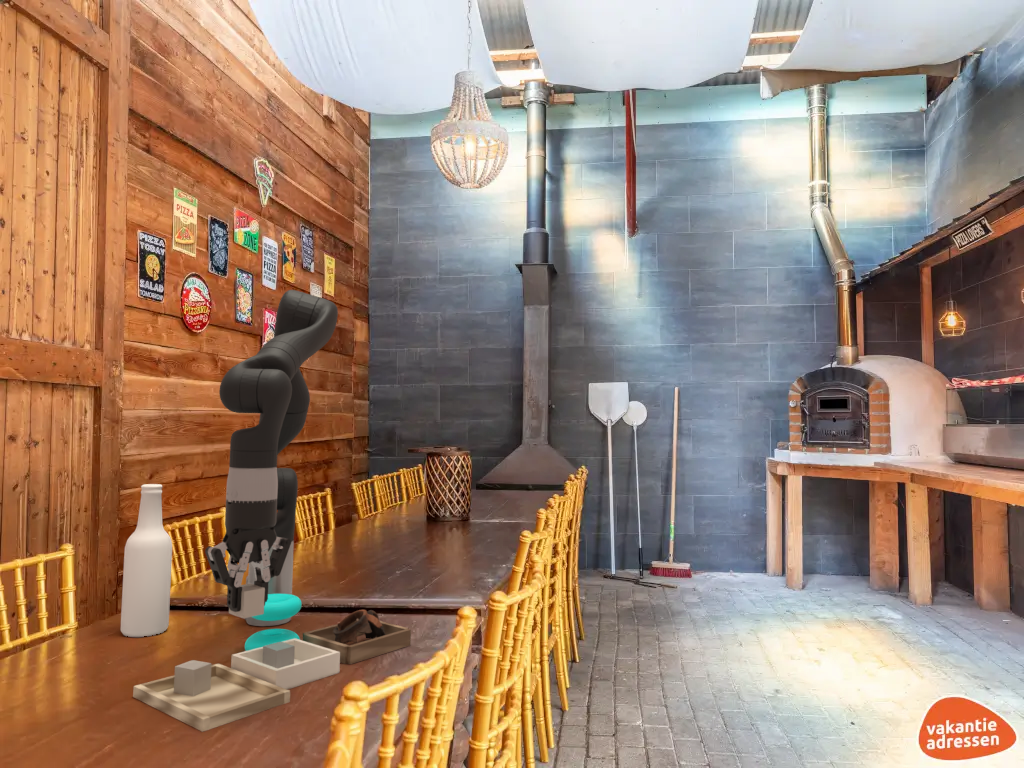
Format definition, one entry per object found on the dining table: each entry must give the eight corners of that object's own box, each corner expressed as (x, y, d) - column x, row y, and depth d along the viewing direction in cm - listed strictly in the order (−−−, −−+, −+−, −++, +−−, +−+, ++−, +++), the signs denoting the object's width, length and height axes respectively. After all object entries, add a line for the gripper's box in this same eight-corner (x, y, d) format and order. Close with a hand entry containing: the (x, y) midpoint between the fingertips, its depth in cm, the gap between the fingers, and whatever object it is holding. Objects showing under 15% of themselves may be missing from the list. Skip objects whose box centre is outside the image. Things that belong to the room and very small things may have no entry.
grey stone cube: (173, 692, 111) (174, 666, 112) (191, 685, 115) (192, 659, 115) (193, 696, 110) (194, 669, 110) (210, 689, 113) (211, 663, 113)
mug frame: (300, 649, 136) (300, 633, 136) (364, 631, 149) (364, 617, 149) (348, 665, 128) (348, 647, 128) (412, 644, 140) (412, 629, 141)
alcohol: (126, 640, 140) (134, 486, 142) (115, 630, 147) (123, 484, 149) (174, 632, 146) (180, 485, 148) (161, 623, 153) (168, 482, 155)
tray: (132, 700, 109) (133, 686, 110) (217, 676, 121) (218, 663, 121) (202, 735, 97) (203, 719, 98) (289, 705, 108) (290, 690, 109)
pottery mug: (386, 659, 133) (365, 622, 132) (342, 679, 134) (321, 642, 133) (399, 625, 145) (380, 591, 143) (359, 644, 146) (339, 610, 145)
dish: (230, 679, 120) (231, 654, 120) (294, 660, 130) (295, 638, 130) (275, 697, 112) (276, 670, 112) (339, 675, 122) (340, 652, 122)
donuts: (305, 601, 133) (247, 606, 129) (303, 656, 132) (245, 662, 128) (298, 590, 142) (245, 594, 138) (296, 641, 141) (243, 647, 137)
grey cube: (262, 670, 122) (263, 646, 122) (280, 664, 125) (280, 641, 125) (275, 675, 119) (276, 650, 120) (293, 669, 122) (294, 646, 123)
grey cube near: (228, 613, 110) (230, 587, 110) (249, 609, 113) (250, 583, 113) (243, 618, 108) (244, 591, 108) (263, 613, 111) (264, 587, 111)
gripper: (277, 491, 119) (273, 595, 118) (196, 497, 108) (190, 612, 107) (305, 495, 114) (300, 604, 114) (222, 501, 103) (216, 622, 103)
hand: (247, 607), depth 110 cm, fingers closed on grey cube near, 3 cm apart
